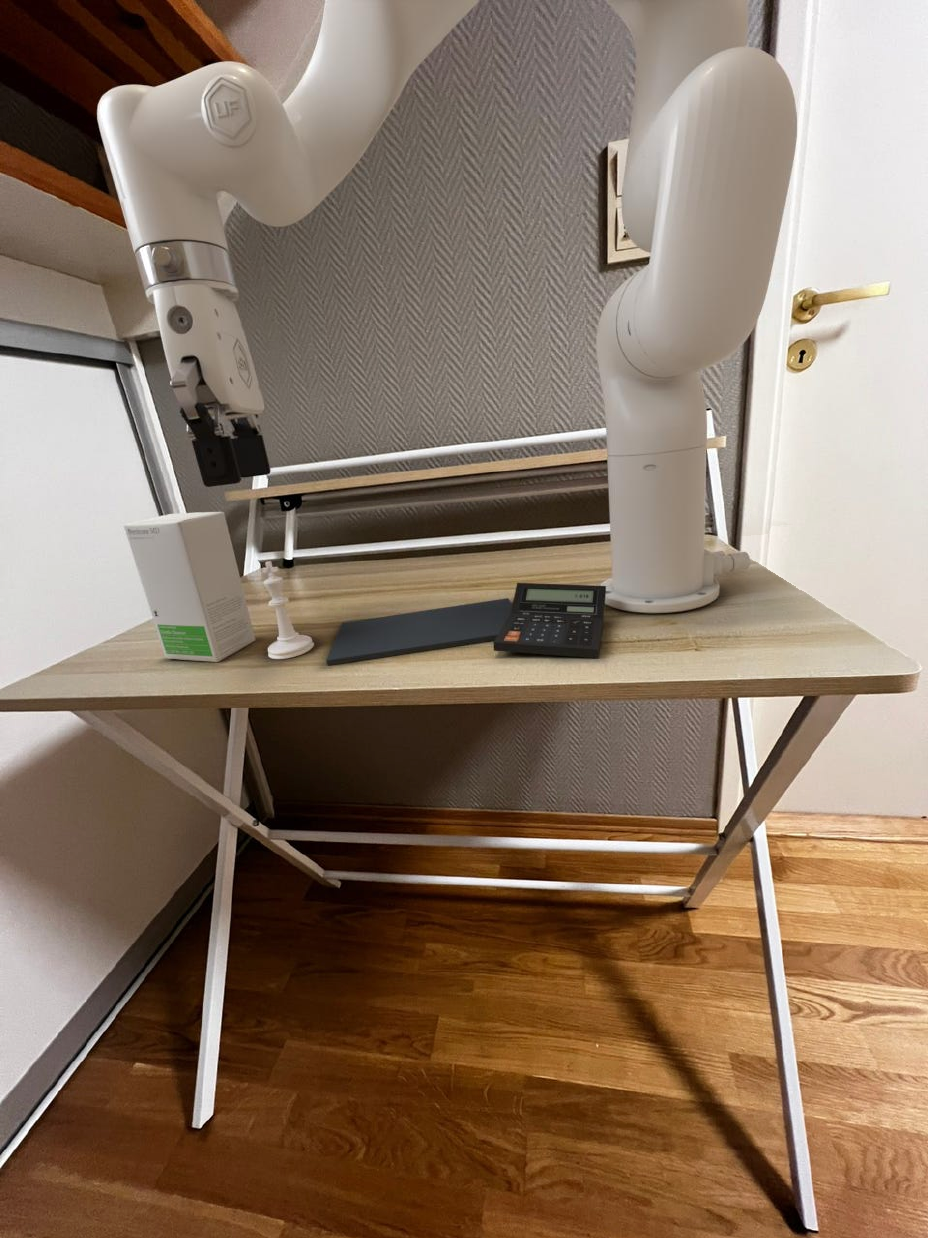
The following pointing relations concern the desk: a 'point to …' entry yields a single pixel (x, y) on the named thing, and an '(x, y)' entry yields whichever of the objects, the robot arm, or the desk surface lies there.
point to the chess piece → (283, 621)
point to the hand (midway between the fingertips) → (241, 479)
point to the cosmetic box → (192, 584)
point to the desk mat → (419, 631)
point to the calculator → (554, 620)
